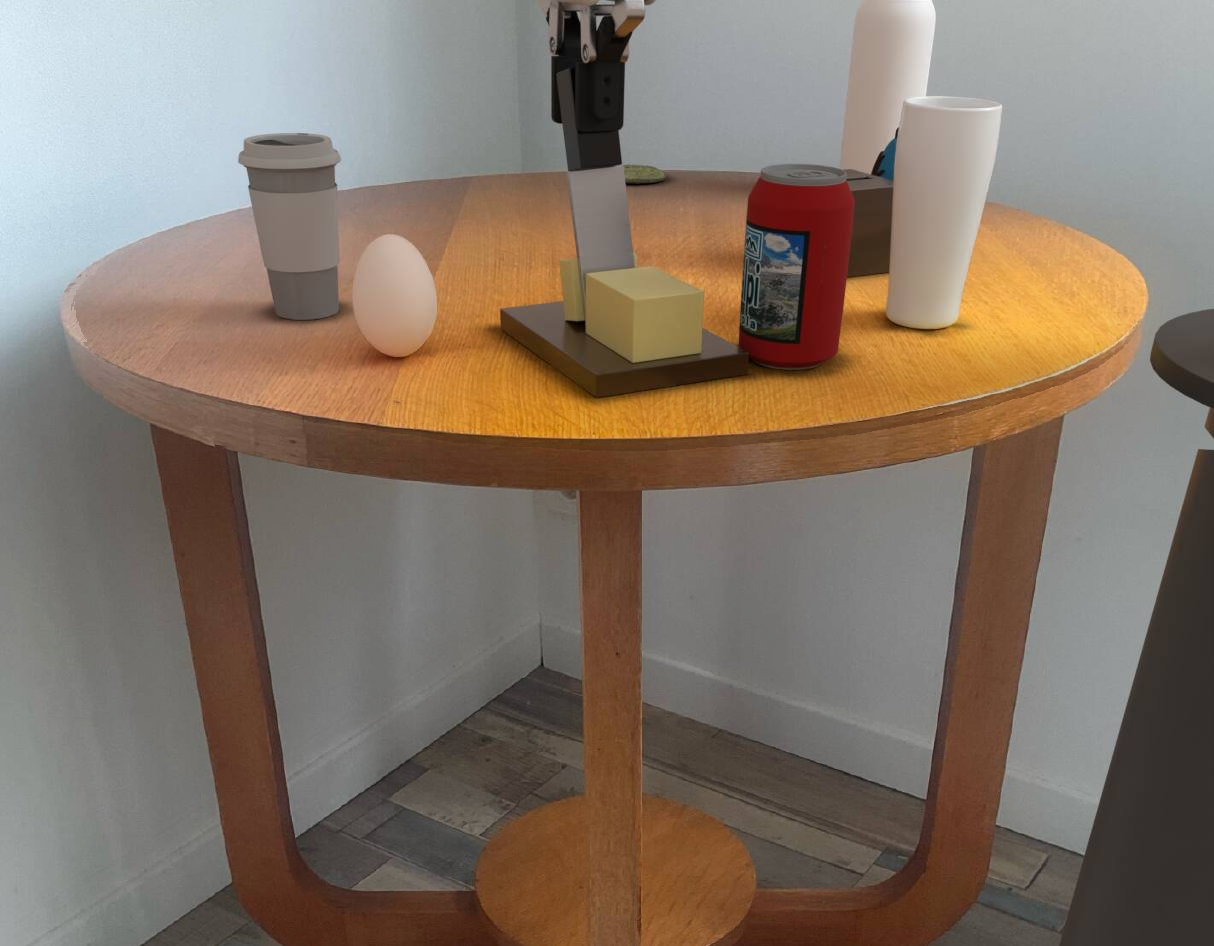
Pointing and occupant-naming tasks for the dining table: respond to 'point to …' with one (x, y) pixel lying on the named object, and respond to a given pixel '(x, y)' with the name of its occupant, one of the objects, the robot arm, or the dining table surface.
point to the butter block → (644, 313)
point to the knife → (595, 192)
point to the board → (614, 354)
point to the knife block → (870, 223)
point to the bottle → (884, 74)
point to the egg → (394, 296)
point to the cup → (296, 219)
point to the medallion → (642, 174)
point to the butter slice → (574, 289)
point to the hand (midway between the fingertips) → (586, 123)
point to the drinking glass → (938, 204)
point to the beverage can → (795, 265)
